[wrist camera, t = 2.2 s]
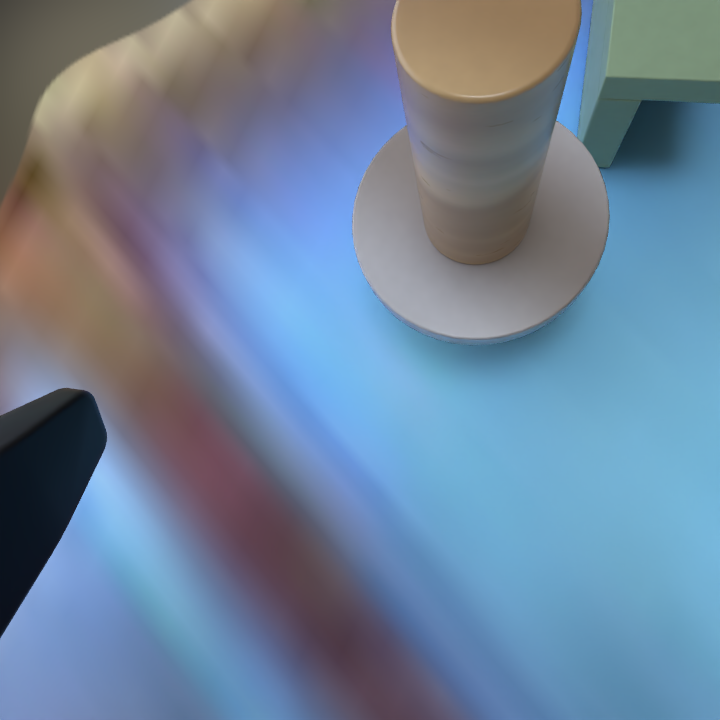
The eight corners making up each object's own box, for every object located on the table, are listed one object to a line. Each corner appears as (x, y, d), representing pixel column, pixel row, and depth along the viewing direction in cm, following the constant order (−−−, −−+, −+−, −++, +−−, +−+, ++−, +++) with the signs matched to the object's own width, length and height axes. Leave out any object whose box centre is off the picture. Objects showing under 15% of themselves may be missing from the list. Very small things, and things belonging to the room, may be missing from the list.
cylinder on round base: (543, 394, 20) (657, 289, 8) (350, 334, 21) (202, 169, 9) (602, 205, 21) (789, -154, 9) (411, 159, 22) (347, -202, 10)
